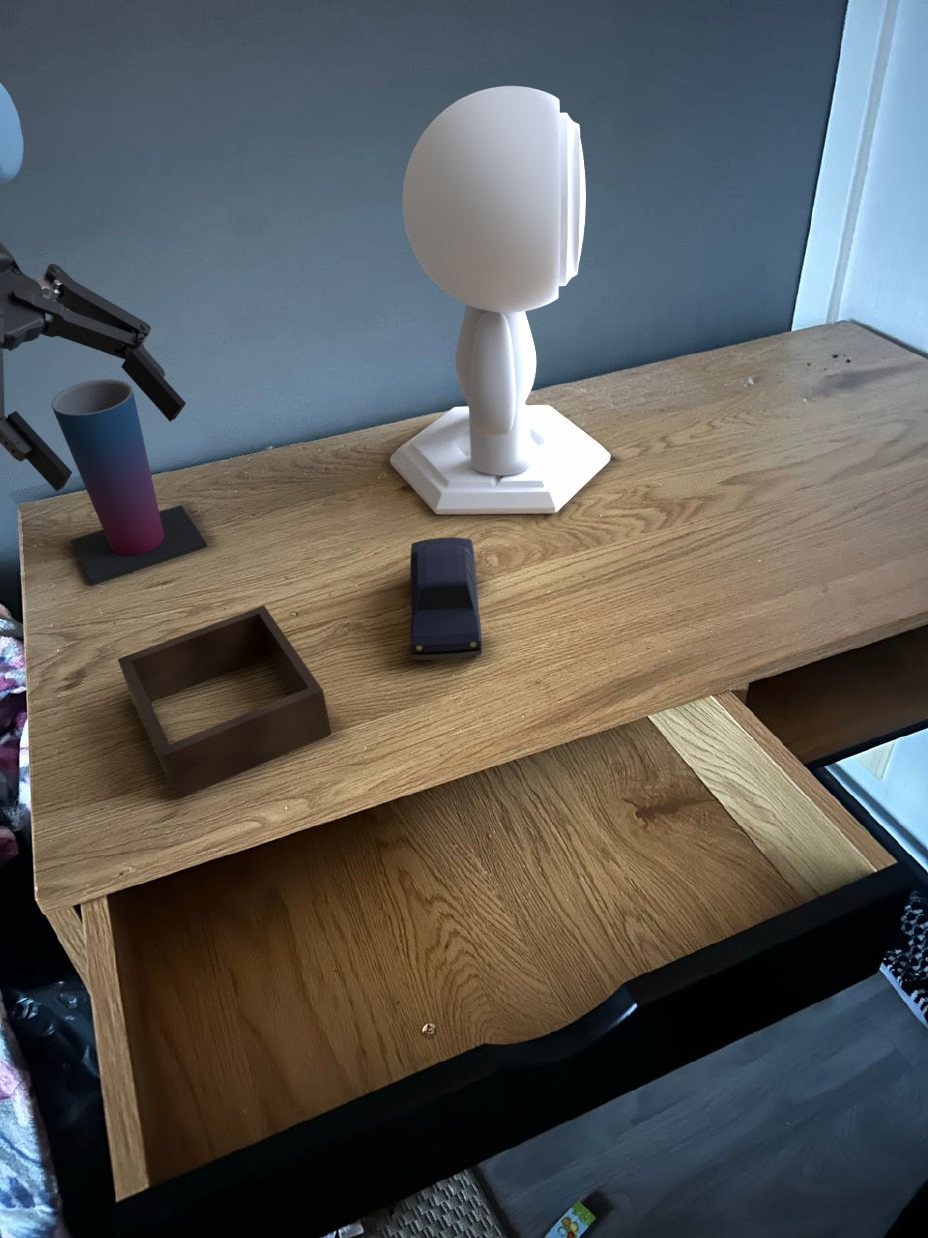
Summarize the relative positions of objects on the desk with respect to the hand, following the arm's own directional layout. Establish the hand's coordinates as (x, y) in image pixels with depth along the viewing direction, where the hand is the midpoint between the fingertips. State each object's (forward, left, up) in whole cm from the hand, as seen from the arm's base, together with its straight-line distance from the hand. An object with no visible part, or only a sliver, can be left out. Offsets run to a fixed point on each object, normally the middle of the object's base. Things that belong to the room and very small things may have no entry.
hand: (124, 445), depth 86 cm
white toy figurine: (+35, -4, -11) cm, 37 cm away
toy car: (+18, -23, -11) cm, 32 cm away
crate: (-2, -25, -11) cm, 28 cm away
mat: (-1, +2, -11) cm, 12 cm away
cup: (-1, +2, -11) cm, 11 cm away
